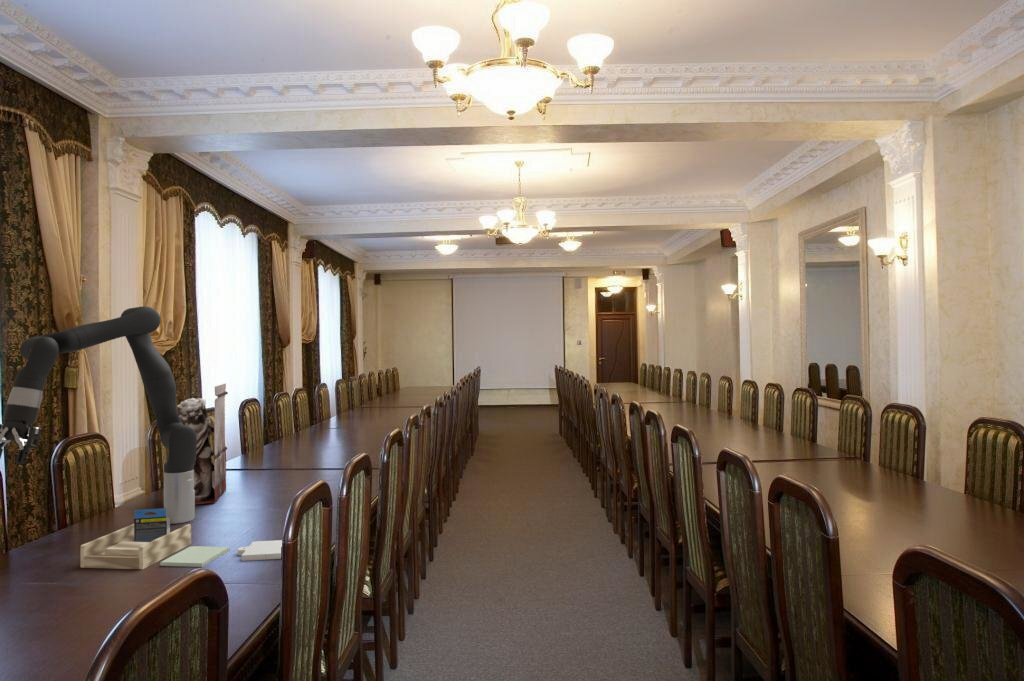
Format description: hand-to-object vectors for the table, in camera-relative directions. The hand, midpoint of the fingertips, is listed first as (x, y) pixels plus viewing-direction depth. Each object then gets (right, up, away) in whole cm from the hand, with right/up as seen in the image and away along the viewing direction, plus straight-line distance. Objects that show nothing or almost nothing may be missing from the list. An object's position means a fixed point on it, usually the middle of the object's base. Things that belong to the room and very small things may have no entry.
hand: (7, 462), depth 177 cm
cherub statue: (+16, -29, +75) cm, 82 cm away
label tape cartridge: (+33, -28, +13) cm, 45 cm away
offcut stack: (+32, -28, +2) cm, 43 cm away
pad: (+51, -28, +4) cm, 58 cm away
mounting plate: (+70, -28, +9) cm, 76 cm away
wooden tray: (+33, -28, +7) cm, 44 cm away
